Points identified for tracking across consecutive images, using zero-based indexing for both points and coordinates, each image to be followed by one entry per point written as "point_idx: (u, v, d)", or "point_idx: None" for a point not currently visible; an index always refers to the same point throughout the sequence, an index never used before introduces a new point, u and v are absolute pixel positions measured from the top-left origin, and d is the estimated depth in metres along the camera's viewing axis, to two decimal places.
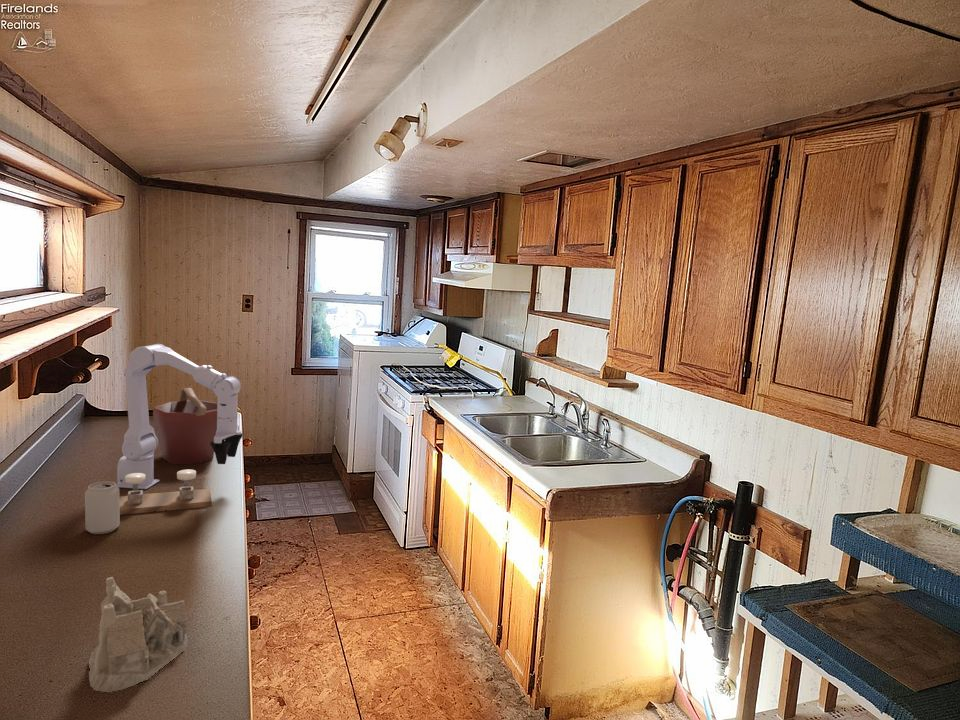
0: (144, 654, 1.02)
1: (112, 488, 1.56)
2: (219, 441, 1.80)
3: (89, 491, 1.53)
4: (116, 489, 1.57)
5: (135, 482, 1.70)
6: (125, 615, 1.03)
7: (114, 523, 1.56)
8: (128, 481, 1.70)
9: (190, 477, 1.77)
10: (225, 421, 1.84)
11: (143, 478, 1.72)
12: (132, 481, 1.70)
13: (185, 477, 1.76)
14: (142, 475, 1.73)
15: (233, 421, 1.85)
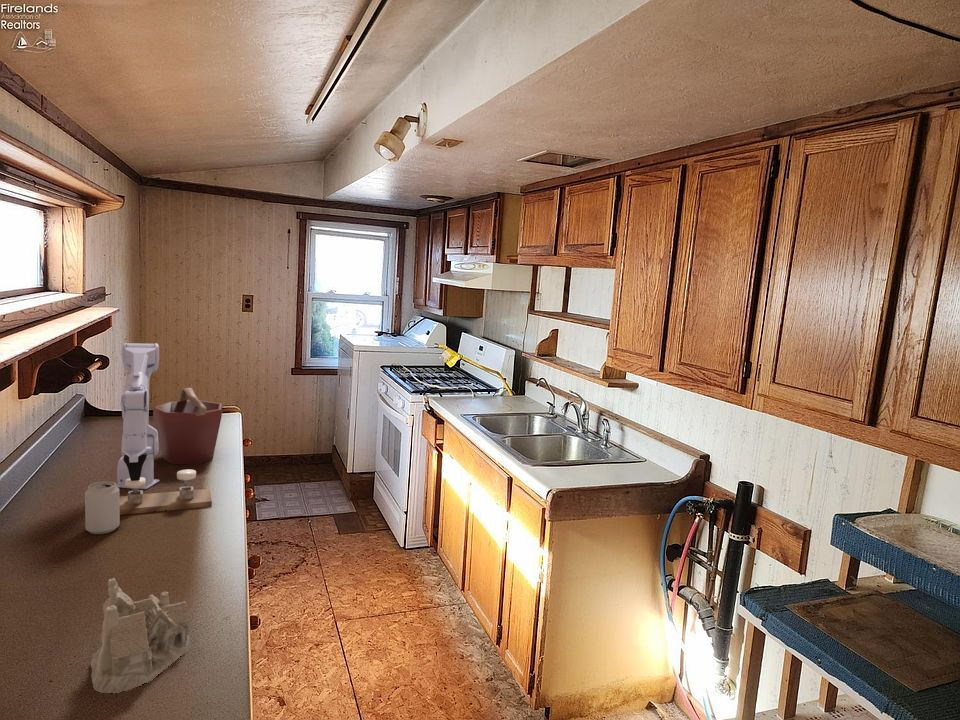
0: (148, 656, 1.02)
1: (112, 488, 1.56)
2: (136, 460, 1.65)
3: (89, 491, 1.53)
4: (116, 489, 1.57)
5: (135, 486, 1.70)
6: (128, 616, 1.03)
7: (114, 523, 1.56)
8: (128, 485, 1.70)
9: (190, 477, 1.77)
10: (136, 438, 1.69)
11: (143, 482, 1.72)
12: (132, 485, 1.70)
13: (185, 477, 1.76)
14: (142, 479, 1.73)
15: (144, 437, 1.71)
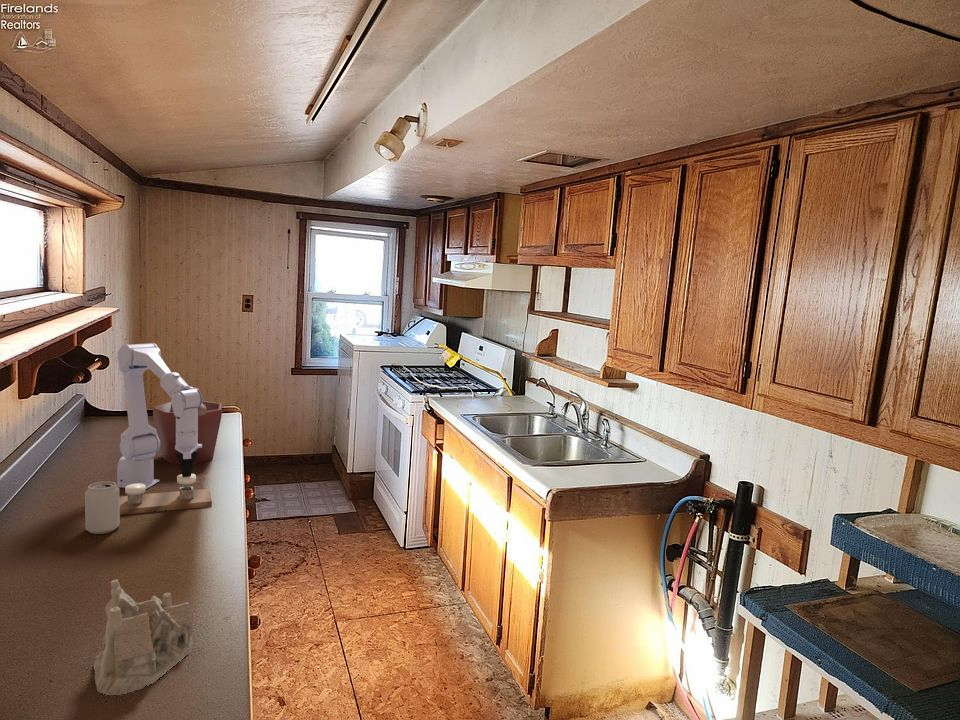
0: (151, 657, 1.02)
1: (112, 488, 1.56)
2: (189, 456, 1.71)
3: (89, 491, 1.53)
4: (116, 489, 1.57)
5: (135, 493, 1.71)
6: (131, 618, 1.02)
7: (114, 523, 1.56)
8: (128, 492, 1.70)
9: (190, 481, 1.77)
10: (189, 435, 1.74)
11: (143, 489, 1.72)
12: (132, 491, 1.70)
13: (185, 481, 1.76)
14: (142, 486, 1.73)
15: (196, 434, 1.76)
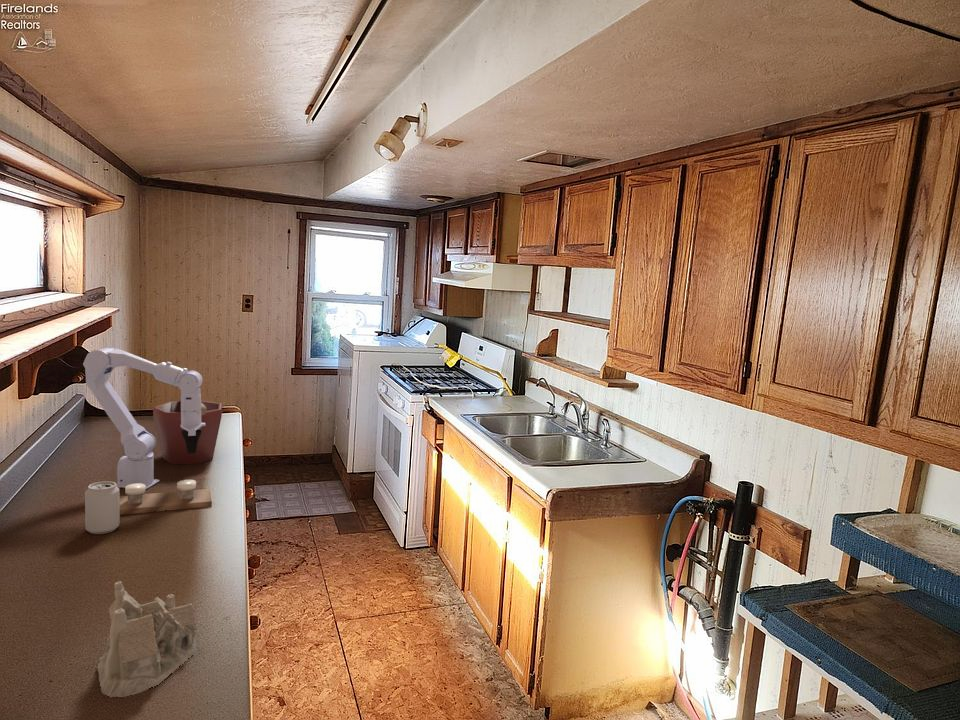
0: (156, 659, 1.02)
1: (112, 488, 1.56)
2: (194, 433, 1.85)
3: (89, 491, 1.53)
4: (116, 489, 1.57)
5: (135, 493, 1.71)
6: (136, 619, 1.02)
7: (114, 523, 1.56)
8: (128, 492, 1.70)
9: (190, 487, 1.77)
10: (193, 414, 1.88)
11: (143, 489, 1.72)
12: (132, 491, 1.70)
13: (185, 487, 1.76)
14: (142, 486, 1.73)
15: (199, 413, 1.90)
